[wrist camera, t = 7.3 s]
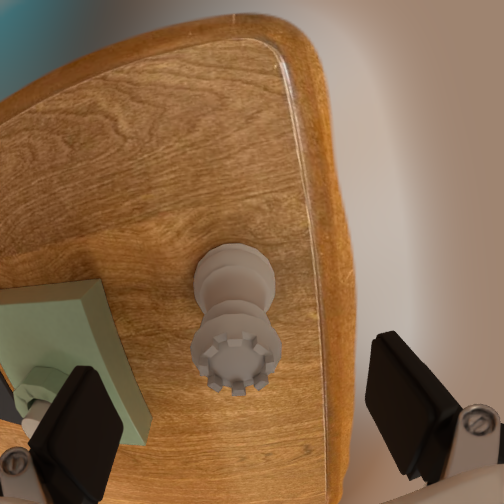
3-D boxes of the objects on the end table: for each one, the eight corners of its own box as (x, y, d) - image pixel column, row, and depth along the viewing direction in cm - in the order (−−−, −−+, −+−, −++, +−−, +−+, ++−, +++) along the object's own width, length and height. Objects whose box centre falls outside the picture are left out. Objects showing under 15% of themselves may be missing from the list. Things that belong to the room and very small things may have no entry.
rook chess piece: (226, 326, 18) (225, 428, 10) (178, 271, 17) (142, 355, 9) (288, 286, 17) (326, 375, 10) (243, 224, 16) (253, 283, 9)
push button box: (-3, 289, 16) (-43, 318, 12) (101, 278, 17) (63, 317, 12) (54, 410, 20) (34, 448, 15) (152, 418, 20) (141, 466, 15)
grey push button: (24, 395, 14) (10, 414, 12) (67, 401, 14) (54, 423, 12) (50, 434, 15) (40, 453, 13) (93, 442, 15) (85, 463, 13)
